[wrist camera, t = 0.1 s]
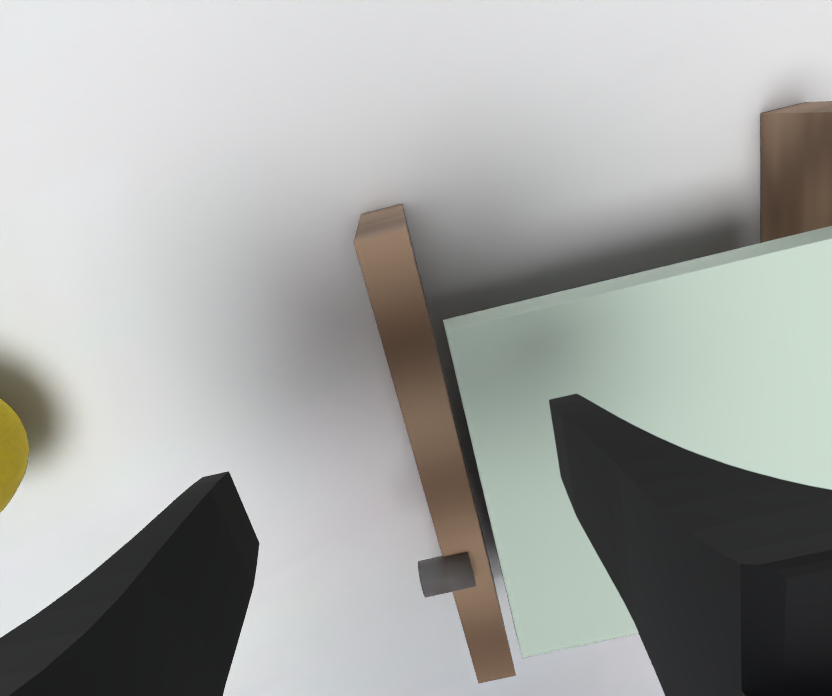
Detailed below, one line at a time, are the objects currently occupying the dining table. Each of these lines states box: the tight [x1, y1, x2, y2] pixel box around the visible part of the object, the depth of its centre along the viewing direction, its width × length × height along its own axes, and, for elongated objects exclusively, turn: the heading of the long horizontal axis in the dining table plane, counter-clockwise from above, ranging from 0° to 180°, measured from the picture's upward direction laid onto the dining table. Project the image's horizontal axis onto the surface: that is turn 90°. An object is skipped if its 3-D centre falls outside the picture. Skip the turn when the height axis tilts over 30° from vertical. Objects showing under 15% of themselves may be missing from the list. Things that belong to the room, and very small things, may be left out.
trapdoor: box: [443, 226, 832, 658], centre depth 20 cm, size 14×12×4 cm
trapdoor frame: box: [354, 101, 832, 683], centre depth 20 cm, size 18×18×6 cm
